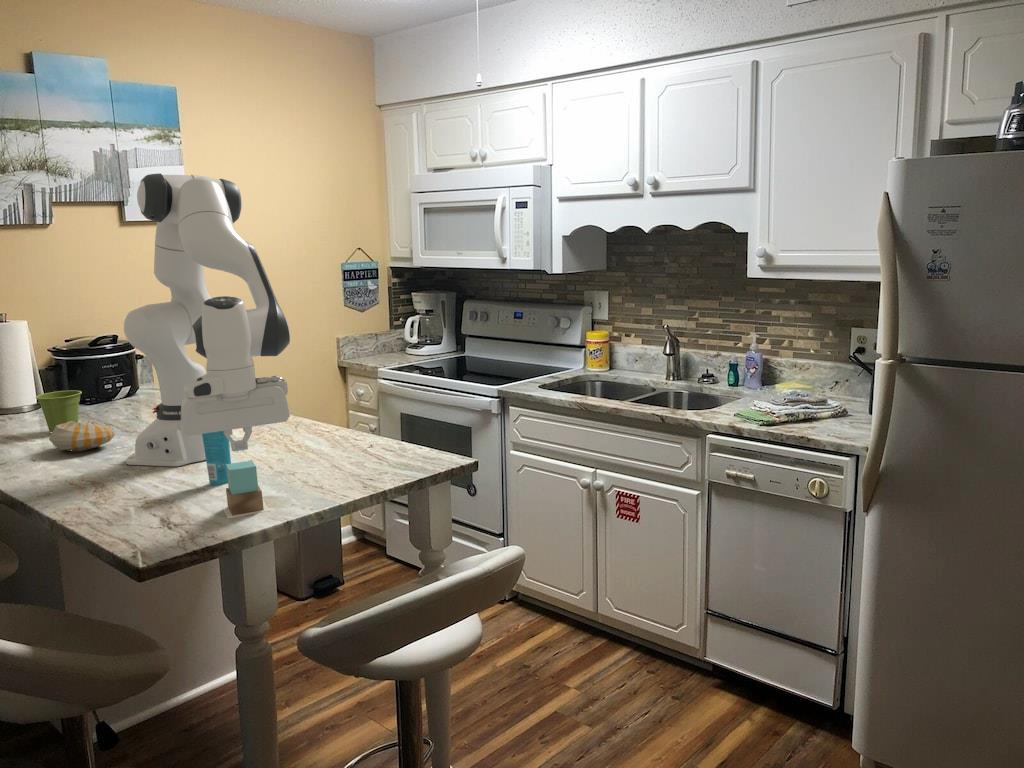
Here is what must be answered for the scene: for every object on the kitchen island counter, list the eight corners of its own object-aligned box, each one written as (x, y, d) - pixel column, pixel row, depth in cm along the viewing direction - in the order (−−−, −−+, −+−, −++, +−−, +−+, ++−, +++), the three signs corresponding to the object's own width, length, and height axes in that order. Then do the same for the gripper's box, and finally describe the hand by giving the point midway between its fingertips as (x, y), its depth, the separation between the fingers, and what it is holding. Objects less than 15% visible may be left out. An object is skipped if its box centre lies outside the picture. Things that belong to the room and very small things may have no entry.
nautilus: (41, 448, 227) (100, 440, 237) (57, 458, 211) (120, 449, 220) (38, 419, 226) (97, 412, 236) (54, 427, 210) (118, 420, 219)
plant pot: (81, 434, 239) (76, 396, 237) (36, 438, 236) (29, 400, 234) (91, 425, 250) (86, 388, 248) (48, 429, 248) (42, 392, 246)
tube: (241, 479, 189) (231, 396, 185) (233, 486, 184) (223, 401, 180) (208, 480, 189) (199, 397, 185) (200, 487, 184) (189, 402, 181)
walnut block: (232, 515, 163) (230, 496, 162) (227, 507, 168) (225, 488, 168) (263, 510, 166) (261, 490, 165) (258, 501, 171) (256, 482, 170)
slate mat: (199, 522, 162) (198, 519, 162) (224, 502, 174) (223, 499, 173) (269, 521, 161) (269, 518, 161) (289, 500, 173) (289, 497, 172)
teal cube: (232, 495, 163) (229, 470, 162) (228, 488, 167) (225, 464, 166) (258, 490, 165) (255, 466, 164) (254, 483, 170) (251, 460, 169)
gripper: (282, 372, 169) (289, 438, 172) (175, 385, 160) (184, 454, 163) (289, 376, 164) (296, 445, 166) (178, 390, 155) (187, 462, 158)
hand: (240, 450), depth 165 cm, fingers closed
